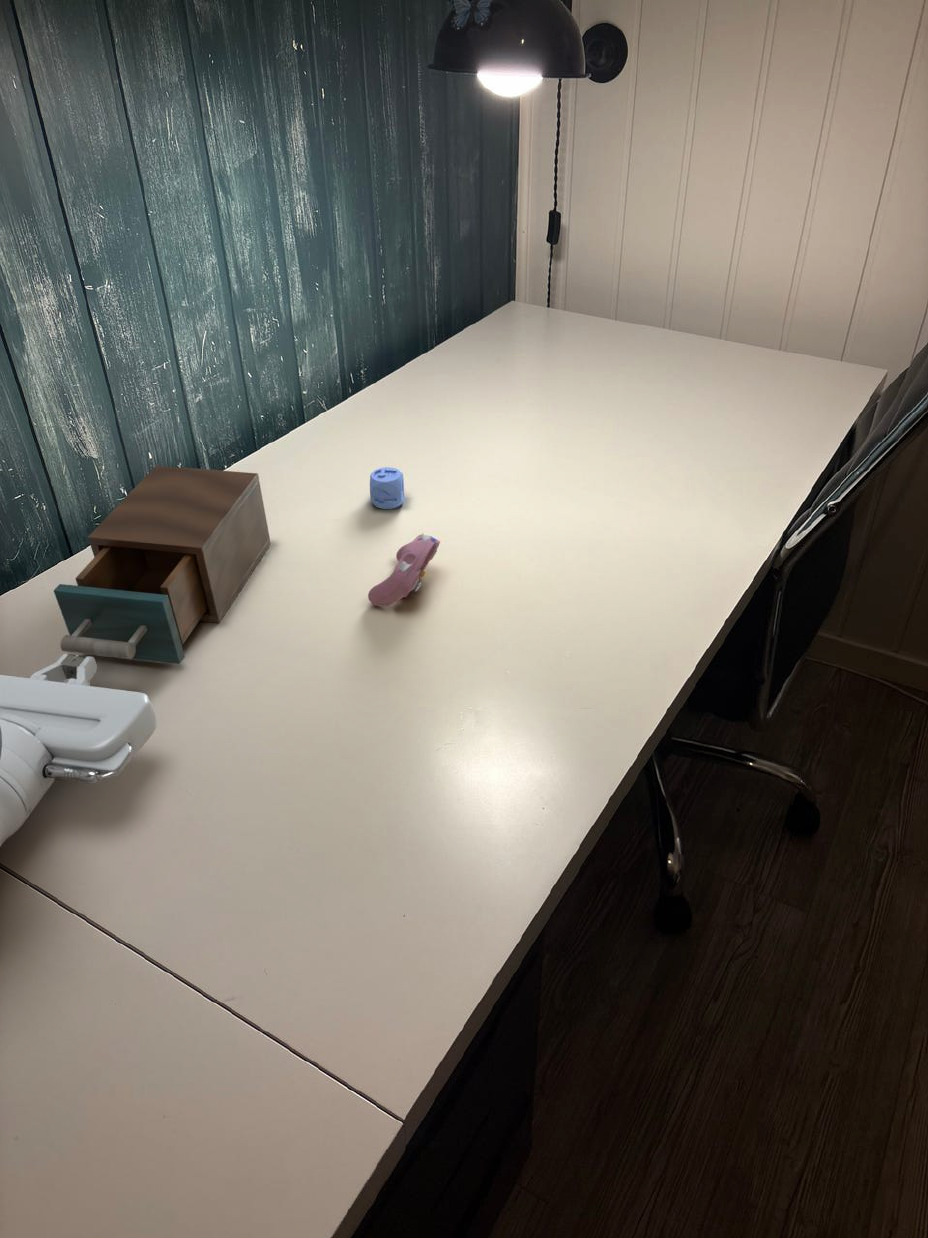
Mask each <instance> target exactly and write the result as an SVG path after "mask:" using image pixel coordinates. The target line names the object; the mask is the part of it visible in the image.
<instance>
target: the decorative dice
mask: <svg viewBox="0 0 928 1238" xmlns="http://www.w3.org/2000/svg"><path fill="white" fill-rule="evenodd" d="M369 496H370V503H371V504H372V505H374V507H376V508H378V509H382V510H393V509H396V508H398V507H401V505H403V503H404V502H405V479H404V474H403V472H402V471H401V470H400V469H397V468H395V467H391V466H386V467H379V468H376V469H375V470H373V471H372V472H371V473H370V476H369Z"/></svg>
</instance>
